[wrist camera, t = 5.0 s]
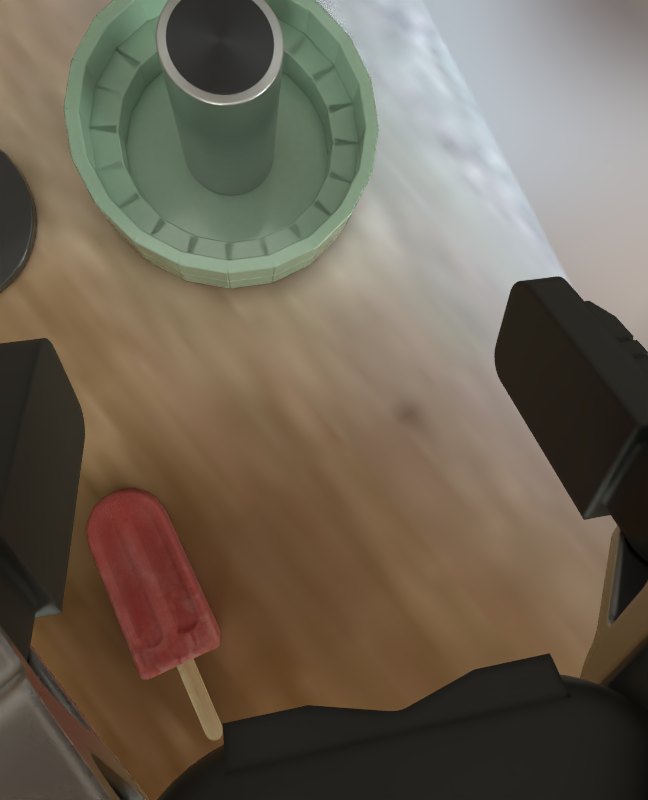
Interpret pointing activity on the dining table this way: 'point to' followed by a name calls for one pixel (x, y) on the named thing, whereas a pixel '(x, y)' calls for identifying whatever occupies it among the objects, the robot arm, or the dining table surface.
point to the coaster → (14, 221)
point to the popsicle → (154, 592)
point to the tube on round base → (223, 87)
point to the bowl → (167, 168)
